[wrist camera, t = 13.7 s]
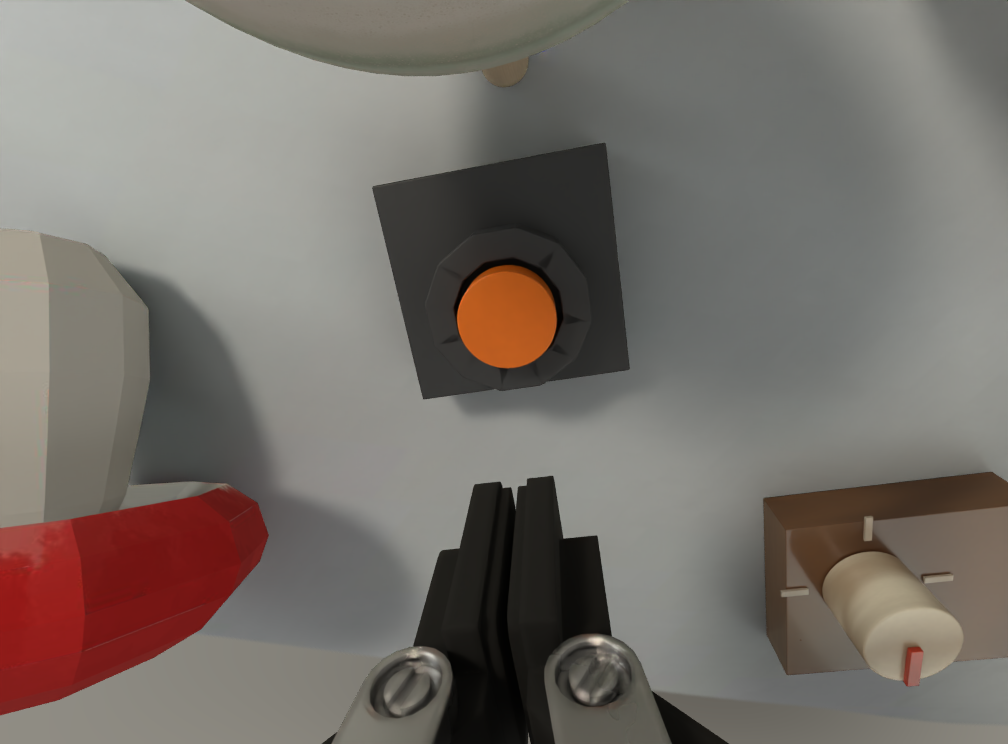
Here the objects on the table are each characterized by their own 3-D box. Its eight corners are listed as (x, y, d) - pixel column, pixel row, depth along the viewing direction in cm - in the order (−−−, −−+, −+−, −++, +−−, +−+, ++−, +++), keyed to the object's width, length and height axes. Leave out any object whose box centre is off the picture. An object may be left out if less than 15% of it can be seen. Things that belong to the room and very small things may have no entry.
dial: (823, 554, 29) (870, 616, 25) (913, 547, 28) (975, 609, 24) (819, 620, 30) (863, 690, 26) (905, 614, 30) (963, 684, 26)
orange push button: (548, 257, 23) (549, 263, 21) (561, 348, 24) (563, 361, 22) (453, 273, 23) (447, 280, 22) (472, 361, 24) (467, 375, 23)
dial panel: (992, 466, 30) (1042, 498, 27) (972, 616, 33) (1015, 659, 30) (757, 493, 31) (780, 527, 28) (761, 635, 34) (782, 678, 32)
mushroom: (-447, 215, 20) (-482, 791, 19) (-246, 47, 13) (-276, 973, 11) (116, 301, 38) (122, 596, 37) (332, 252, 31) (350, 617, 29)
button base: (597, 145, 25) (611, 139, 21) (620, 349, 29) (636, 384, 24) (389, 185, 27) (358, 187, 22) (434, 377, 30) (415, 415, 25)
